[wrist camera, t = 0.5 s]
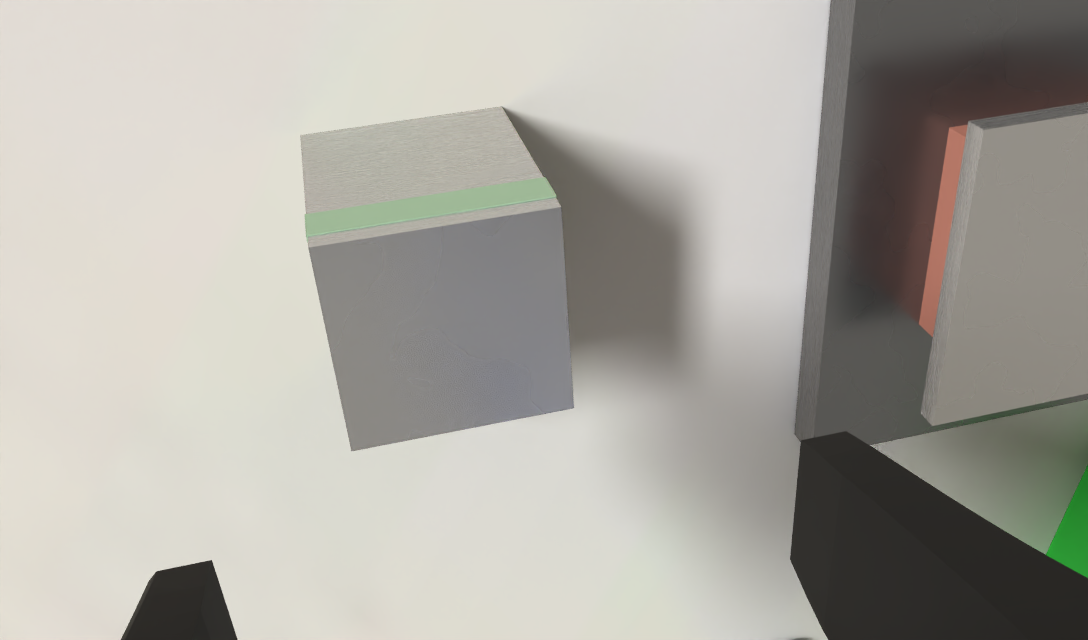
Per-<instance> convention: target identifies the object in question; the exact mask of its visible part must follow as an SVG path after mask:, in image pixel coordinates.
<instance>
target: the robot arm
mask: <svg viewBox="0 0 1088 640" xmlns="http://www.w3.org/2000/svg"><path fill="white" fill-rule="evenodd" d="M790 560H791V562H792V565H793V567H794V569H795V571H796V573H797V576H798V578H799V580H800V582H801V585H802V587H803V589H804V591H805V594H806V596H807V598H808V600H809V602H810V604H811V606H812V609H813V611H814V613H815V615H816V617H817V619H818V621H819V623H820V625H821V627H822V629H823V631H824V633H825V635H826V636H827V638H828V640H1088V578H1087V577H1085V576H1083V575H1081V574H1080V573H1078V572H1076V571H1074V570H1072V569H1070V568H1069V567H1067V566H1065V565H1063V564H1061V563H1060V562H1058V561H1056V560H1054V559H1052V558H1051V557H1049V556H1047V555H1045V554H1043V553H1041V552H1040V551H1038V550H1036V549H1034V548H1033V547H1031V546H1029V545H1027V544H1026V543H1024V542H1022V541H1021V540H1019V539H1017V538H1015V537H1014V536H1012V535H1010V534H1009V533H1007V532H1005V531H1004V530H1002V529H1000V528H999V527H997V526H995V525H994V524H992V523H990V522H989V521H987V520H985V519H984V518H982V517H981V516H979V515H977V514H976V513H974V512H972V511H971V510H969V509H968V508H966V507H964V506H963V505H961V504H960V503H958V502H957V501H955V500H953V499H952V498H950V497H949V496H947V495H945V494H944V493H942V492H941V491H939V490H938V489H936V488H935V487H933V486H931V485H930V484H928V483H927V482H925V481H924V480H922V479H921V478H919V477H918V476H916V475H914V474H913V473H911V472H910V471H908V470H907V469H905V468H904V467H902V466H901V465H899V464H898V463H896V462H894V461H893V460H891V459H890V458H888V457H887V456H885V455H884V454H882V453H881V452H879V451H877V450H876V449H874V448H873V447H871V446H870V445H868V444H866V443H865V442H863V441H862V440H860V439H858V438H857V437H855V436H854V435H852V434H850V433H849V432H847V431H844V432H839V433H834V434H829V435H824V436H819V437H814V438H809V439H805V440H801V446H800V457H799V468H798V479H797V490H796V501H795V512H794V523H793V534H792V545H791V556H790ZM121 640H237V637H236V634H235V631H234V627H233V624H232V621H231V618H230V615H229V612H228V609H227V606H226V603H225V600H224V597H223V593H222V590H221V587H220V584H219V581H218V578H217V575H216V572H215V569H214V566H213V562H212V560H210V561H205V562H200V563H196V564H191V565H186V566H181V567H176V568H171V569H166V570H161V571H157V572H156V573H155V574H154V575H153V577H152V578H151V579H150V580H149V582H148V584H147V586H146V588H145V590H144V593H143V595H142V597H141V599H140V601H139V603H138V605H137V608H136V610H135V612H134V614H133V616H132V618H131V620H130V622H129V624H128V626H127V628H126V630H125V632H124V634H123V636H122V638H121Z"/></svg>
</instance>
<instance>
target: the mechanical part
mask: <svg viewBox="0 0 1088 640" xmlns="http://www.w3.org/2000/svg"><path fill="white" fill-rule="evenodd" d="M1046 555H1047V556H1049V557H1051V558H1052V559H1054V560H1056V561H1058V562H1060V563H1061V564H1063V565H1065V566H1067V567H1069V568H1070V569H1072V570H1074V571H1076V572H1078V573H1080V574H1081V575H1083V576H1085V577H1087V578H1088V465H1087V467H1086V469H1085V472H1084V474H1083V476H1082V478H1081V480H1080V482H1079V485H1078V487H1077V489H1076V491H1075V493H1074V495H1073V497H1072V500H1071V502H1070V504H1069V506H1068V508H1067V510H1066V512H1065V515H1064V517H1063V519H1062V521H1061V523H1060V525H1059V528H1058V530H1057V532H1056V534H1055V536H1054V538H1053V540H1052V543H1051V545H1050V547H1049V549H1048V551H1047V553H1046Z"/></svg>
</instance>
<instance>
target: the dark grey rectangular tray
mask: <svg viewBox="0 0 1088 640" xmlns="http://www.w3.org/2000/svg"><path fill="white" fill-rule="evenodd" d="M1086 399H1088V0H831V5H830V17H829V29H828V41H827V53H826V65H825V77H824V89H823V101H822V113H821V125H820V136H819V148H818V160H817V172H816V184H815V196H814V208H813V220H812V232H811V244H810V256H809V268H808V280H807V292H806V304H805V316H804V328H803V340H802V352H801V364H800V376H799V388H798V400H797V412H796V424H795V435H796V437H797V438H798V439H799V441H800V442H801V440H805V439H809V438H814V437H819V436H824V435H829V434H834V433H839V432H844V431H847V432H849V433H850V434H852V435H854V436H855V437H857V438H858V439H860V440H862V441H863V442H865V443H866V444H868V445H872V444H877V443H882V442H887V441H891V440H896V439H901V438H906V437H910V436H915V435H920V434H925V433H929V432H934V431H939V430H944V429H948V428H953V427H958V426H963V425H967V424H972V423H977V422H982V421H986V420H991V419H996V418H1001V417H1005V416H1010V415H1015V414H1020V413H1024V412H1029V411H1034V410H1039V409H1043V408H1048V407H1053V406H1058V405H1062V404H1067V403H1072V402H1077V401H1081V400H1086Z"/></svg>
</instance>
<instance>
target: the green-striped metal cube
mask: <svg viewBox="0 0 1088 640" xmlns="http://www.w3.org/2000/svg"><path fill="white" fill-rule="evenodd" d="M300 137H301V151H302V165H303V179H304V193H305V207H306V214H305V227H306V237H307V242H308V248H309V253H310V257H311V262H312V267H313V271H314V276H315V281H316V286H317V290H318V295H319V300H320V304H321V309H322V314H323V319H324V323H325V328H326V333H327V337H328V342H329V347H330V352H331V356H332V361H333V366H334V370H335V375H336V380H337V385H338V389H339V394H340V399H341V404H342V408H343V413H344V418H345V422H346V427H347V432H348V437H349V441H350V446H351V451H356V450H361V449H366V448H371V447H376V446H381V445H386V444H392V443H397V442H402V441H407V440H412V439H417V438H423V437H428V436H433V435H438V434H443V433H448V432H453V431H459V430H464V429H469V428H474V427H479V426H484V425H490V424H495V423H500V422H505V421H510V420H515V419H520V418H526V417H531V416H536V415H541V414H546V413H551V412H557V411H562V410H567V409H572V408H574V403H573V387H572V371H571V354H570V338H569V322H568V306H567V289H566V273H565V257H564V241H563V225H562V208H561V205H560V204H559V202H558V200H557V196H556V194H555V192H554V190H553V189H552V187H551V185H550V184H549V182H548V180H547V179H546V177H543V175H542V173H541V172H540V170H539V168H538V167H537V165H536V163H535V162H534V160H533V158H532V157H531V155H530V153H529V152H528V150H527V148H526V147H525V145H524V143H523V142H522V140H521V138H520V137H519V135H518V133H517V131H516V130H515V128H514V126H513V125H512V123H511V121H510V120H509V118H508V116H507V115H506V113H505V111H504V110H503V108H502V107H495V108H488V109H481V110H474V111H467V112H460V113H453V114H446V115H439V116H432V117H425V118H418V119H411V120H404V121H397V122H390V123H383V124H376V125H369V126H362V127H355V128H348V129H341V130H334V131H327V132H320V133H313V134H306V135H300Z"/></svg>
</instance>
